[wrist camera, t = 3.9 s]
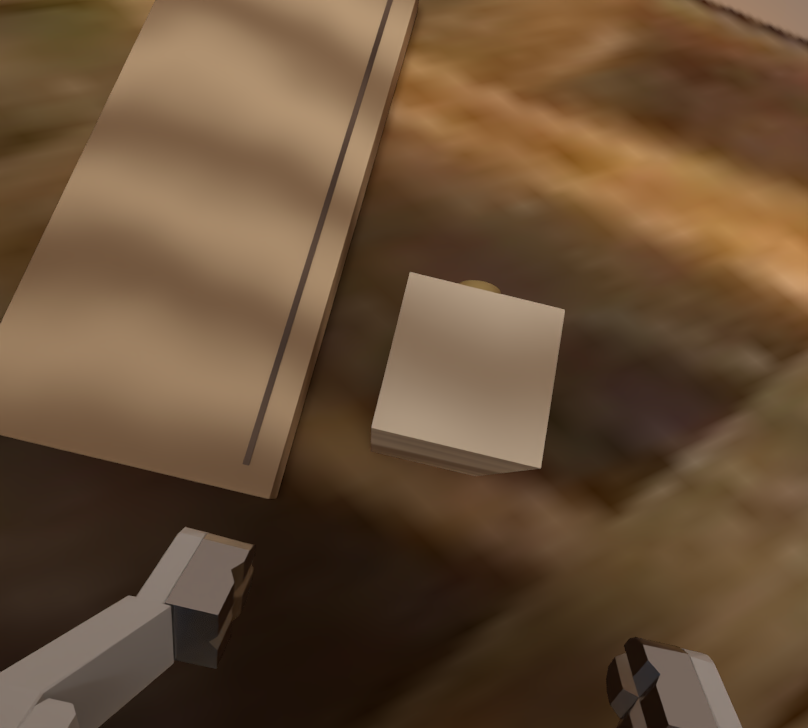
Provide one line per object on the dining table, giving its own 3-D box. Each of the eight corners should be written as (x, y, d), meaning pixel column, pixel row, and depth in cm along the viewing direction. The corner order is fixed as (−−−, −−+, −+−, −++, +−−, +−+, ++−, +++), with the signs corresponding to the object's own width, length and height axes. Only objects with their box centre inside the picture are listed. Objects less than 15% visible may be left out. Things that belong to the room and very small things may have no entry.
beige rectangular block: (475, 476, 20) (540, 468, 12) (370, 451, 20) (371, 427, 12) (497, 357, 22) (568, 284, 14) (399, 333, 22) (416, 247, 14)
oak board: (276, 498, 19) (268, 499, 18) (-17, 428, 19) (-50, 423, 18) (417, 11, 26) (420, -18, 25) (200, -43, 26) (190, -75, 25)
